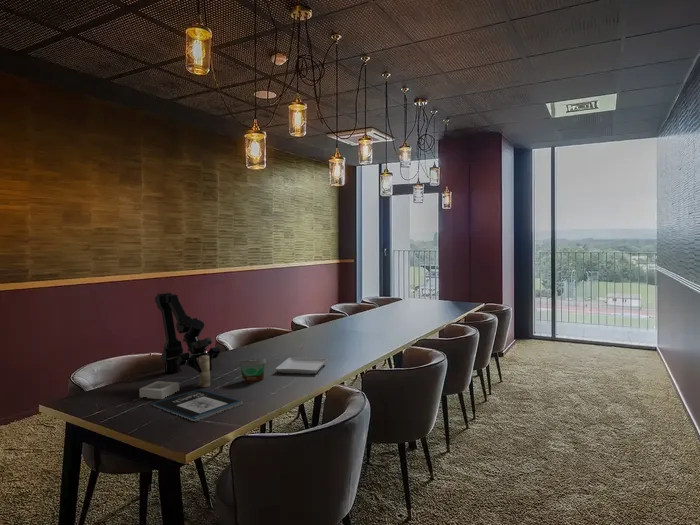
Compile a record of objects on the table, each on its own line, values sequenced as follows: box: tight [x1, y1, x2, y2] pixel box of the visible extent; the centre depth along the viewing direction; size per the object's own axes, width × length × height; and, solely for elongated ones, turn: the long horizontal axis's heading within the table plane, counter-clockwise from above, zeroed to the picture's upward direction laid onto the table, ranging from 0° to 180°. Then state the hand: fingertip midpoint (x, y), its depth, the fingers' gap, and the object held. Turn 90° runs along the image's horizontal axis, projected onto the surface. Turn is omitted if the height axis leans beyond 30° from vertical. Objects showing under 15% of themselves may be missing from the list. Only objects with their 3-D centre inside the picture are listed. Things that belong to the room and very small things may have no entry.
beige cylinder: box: [198, 355, 211, 388], centre depth 204 cm, size 4×4×13 cm
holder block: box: [138, 380, 180, 400], centre depth 194 cm, size 11×11×4 cm
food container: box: [238, 357, 267, 384], centre depth 208 cm, size 12×6×10 cm, turn 105°
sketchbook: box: [151, 388, 244, 422], centre depth 180 cm, size 22×30×2 cm
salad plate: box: [275, 356, 329, 375], centre depth 227 cm, size 21×21×3 cm
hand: (206, 371), depth 203 cm, fingers closed on beige cylinder, 4 cm apart
